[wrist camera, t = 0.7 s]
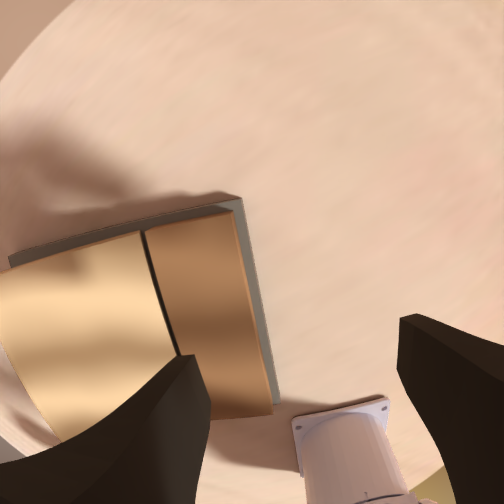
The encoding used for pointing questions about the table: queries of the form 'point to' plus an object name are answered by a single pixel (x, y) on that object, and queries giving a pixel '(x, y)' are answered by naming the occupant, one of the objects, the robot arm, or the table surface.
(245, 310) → the brown curved block
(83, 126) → the table surface
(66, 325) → the oak plank
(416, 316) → the robot arm
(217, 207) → the rubber mat
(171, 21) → the table surface
